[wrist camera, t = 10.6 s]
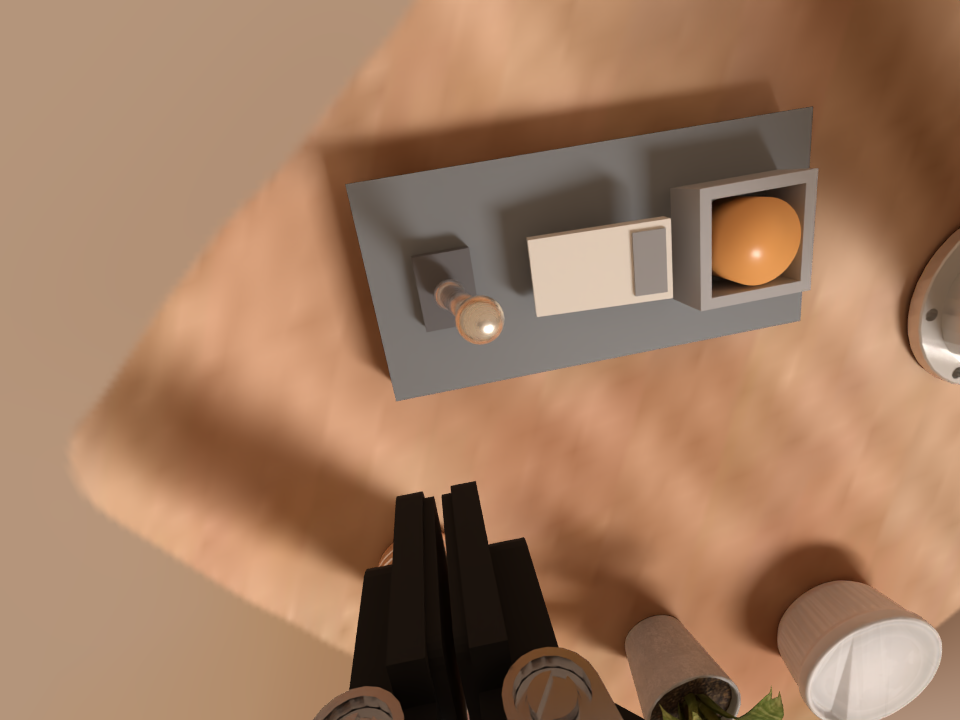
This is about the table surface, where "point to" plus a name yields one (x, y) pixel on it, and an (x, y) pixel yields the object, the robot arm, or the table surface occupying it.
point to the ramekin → (856, 651)
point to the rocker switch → (601, 266)
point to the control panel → (564, 207)
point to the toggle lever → (470, 312)
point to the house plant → (684, 677)
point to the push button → (753, 238)
